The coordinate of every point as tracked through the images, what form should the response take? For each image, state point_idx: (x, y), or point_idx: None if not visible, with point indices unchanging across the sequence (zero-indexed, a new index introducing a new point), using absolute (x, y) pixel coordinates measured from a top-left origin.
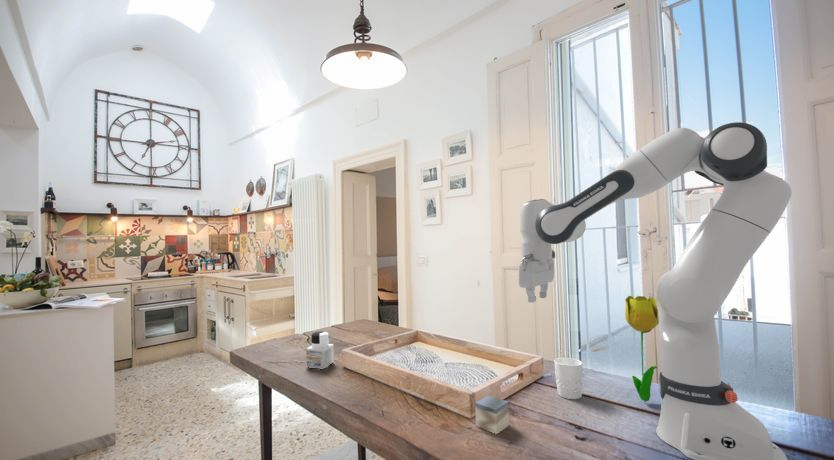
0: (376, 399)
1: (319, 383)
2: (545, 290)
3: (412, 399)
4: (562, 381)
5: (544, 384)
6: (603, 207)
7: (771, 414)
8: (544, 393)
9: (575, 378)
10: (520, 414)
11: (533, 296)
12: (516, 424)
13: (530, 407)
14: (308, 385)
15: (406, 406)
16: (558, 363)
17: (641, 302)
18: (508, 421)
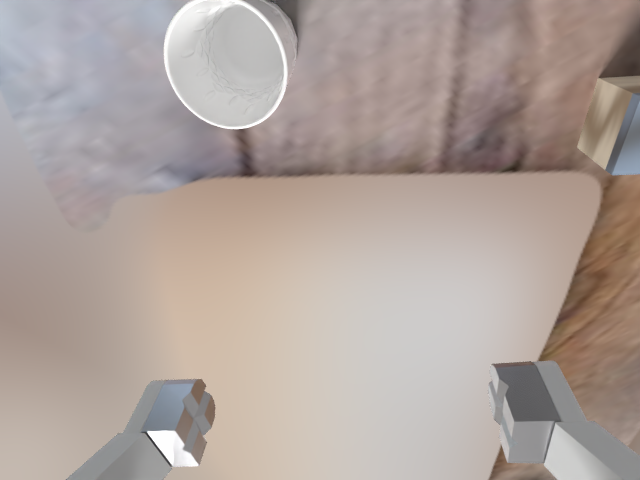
0: (604, 371)
1: None
2: (129, 455)
3: (565, 328)
4: (294, 56)
5: (244, 149)
6: None
7: None
8: (309, 114)
9: (266, 6)
10: (506, 91)
11: (587, 423)
12: (582, 63)
13: (439, 93)
14: None
15: (609, 316)
16: (284, 88)
17: None
18: (608, 80)
